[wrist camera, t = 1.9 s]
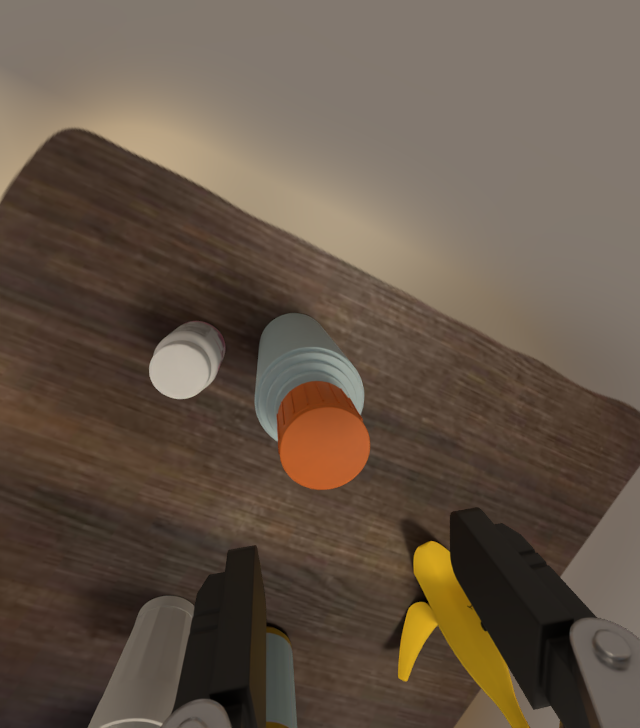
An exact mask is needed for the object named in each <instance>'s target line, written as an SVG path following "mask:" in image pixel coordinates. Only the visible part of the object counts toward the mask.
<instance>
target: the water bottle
mask: <svg viewBox="0 0 640 728" xmlns="http://www.w3.org/2000/svg"><path fill="white" fill-rule="evenodd" d="M311 381H323V382H329V383H331V384H333V385H335V386H337V387H339V388H341V389H342V390H343V391H344V393H345V394H346V395H347V396H348V398H349V397H350V399H351V401H352V402H353V404H354V406H355V407H356V409H357V411H358V412H359V414H360V415H361V412H362V408H363V403H364V389H363V384H362V380H361V378H360V376H359V373H358V372H357V370H356V369H355V367H354V366H353V365H352V363H351V362H350V361H349V360H348V358H347V357H346V356H345V355H344V353H343V352H342V351H341V350H340V349H339V347H338V346H337V345H336V344H335V342H334V341H333V340H332V339H331V337H330V336H329V335H328V334H327V332H326V331H325V330H324V329H323V327H322V326H321V325H320V324H319V323H318V322H317V321H316V320H315V319H313V318H311V317H310V316H307V315H305V314H300V313H288V314H284V315H281V316H279V317H277V318H275V319H274V320H272V321H271V322H270V323H269V324H268V325H267V326H266V328H265V329H264V331H263V333H262V335H261V338H260V342H259V354H258V365H257V377H256V389H255V409H256V414H257V417H258V419H259V421H260V423H261V425H262V427H263V428H264V430H265V431H266V432H267V433H268V434H269V435H270V436H271V437H272V438H273V439H275V440H276V441H277V442H278V434H277V414H278V410H279V407H280V404H281V401H282V400H283V399H284V397H285V396H286V395H287V394H288V393H289V391H291V390H292V389H294V388H295V387H297V386H299V385H301V384H303V383H306V382H311Z"/></svg>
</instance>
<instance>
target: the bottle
mask: <svg viewBox="0 0 640 728" xmlns="http://www.w3.org/2000/svg"><path fill="white" fill-rule="evenodd" d="M266 728H297V719H296V704H295V688H294V672H293V656H292V646H291V643H290V640H289V638H288V637H287V636H286V635H285V634H284V633H282V632H281V631H280V630H278V629H276V628H274V627H269V626H266Z"/></svg>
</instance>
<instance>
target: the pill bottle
mask: <svg viewBox="0 0 640 728" xmlns="http://www.w3.org/2000/svg"><path fill="white" fill-rule="evenodd" d="M224 355H225V342H224V339H223V337H222V335H221V333H220V332H219V331H218V330H217V329H216V328H215V327H214V326H212V325H211V324H208V323H206V322H202V321H191V322H187V323H184V324H182V325H181V326H179V327H178V328H177V329H175V330H174V331H173V332H172V333H170V334H169V335H168V336H166V337H165V338H164V339H163V340H162V341H161V342H160V343H159V344H158V346H157V347H156V349H155V351H154V355H153V358H152V359H151V362H150V366H149V374H150V378H151V381H152V383H153V385H154V386H155V387H156V389H157V390H158V391H160V392H161V393H162V394H164V395H166V396H168V397H171V398H175V399H186V398H190V397H193V396H195V395H196V394H198V393H199V392H201V391H202V390H203V389H204V388H206V387H207V386H208V385H210V383H211V382H212V381H213V380H214V378H215V377H216V374H217V372H218V370H219V367H220V365H221V362H222V360H223V358H224Z"/></svg>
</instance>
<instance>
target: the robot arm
mask: <svg viewBox="0 0 640 728" xmlns="http://www.w3.org/2000/svg"><path fill="white" fill-rule="evenodd" d="M450 560H451V565H452V568H453V572H454V574H455V577H456V579H457V581H458V583H459V584H460V586H461V588H462V589H463V591H464V593H465V594H466V596H467V598H468V600H469V601H470V603H471V605H472V606H473V608H474V610H475V611H476V613H477V615H478V616H479V618H480V620H481V622H482V623H483V625H484V627H485V628H486V630H487V632H488V633H489V635H490V637H491V638H492V640H493V642H494V644H495V645H496V647H497V649H498V650H499V652H500V654H501V655H502V657H503V659H504V660H505V662H506V664H507V666H508V667H509V669H510V671H511V672H512V674H513V676H514V677H515V679H516V681H517V682H518V684H519V686H520V688H521V689H522V691H523V693H524V694H525V696H526V698H527V699H528V701H529V703H530V705H531V706H532V708H533V709H539V708H543V707H548V706H551V707H552V708H553V710H554V711H555V713H556V714H557V716H558V718H559V719H560V727H559V728H640V639H639V638H638V637H637V636H636V635H634V634H633V633H632V632H630V631H629V630H627V629H626V628H624V627H622V626H620V625H618V624H616V623H613V622H611V621H608V620H605V619H601V618H597V617H596V616H595V615H594V614H593V613H592V612H591V611H590V610H589V608H588V607H587V606H586V605H585V604H584V603H583V602H582V601H581V600H580V599H579V598H578V596H577V595H576V594H575V593H574V592H573V591H572V590H571V589H570V588H569V587H568V586H567V585H566V583H565V582H564V581H563V580H562V579H561V578H560V577H559V576H558V575H557V574H556V573H555V571H554V570H553V569H552V568H551V567H550V566H547V564H546V562H545V561H544V559H543V558H542V557H541V556H540V555H539V554H538V553H535V550H534V549H533V547H532V546H531V545H530V544H529V543H528V542H527V541H526V540H525V539H524V538H523V537H522V536H521V535H520V534H519V533H517V532H516V531H514V530H512V529H511V528H509V527H507V526H506V525H504V524H503V523H500V524H495V525H494V524H493V523H492V521H491V520H490V519H489V518H488V517H487V516H486V514H485V513H484V512H483V511H482V510H481V509H480V508H477V507H476V508H471V509H465V510H459V511H453V512H452V513H451V515H450ZM193 614H194V616H193V617H192V622H191V627H190V634H189V636H188V641H187V646H186V651H185V656H184V660H183V665H182V670H181V675H180V680H179V684H178V689H177V694H176V699H175V703H174V707H173V710H172V712H171V715H170V716H169V717H168V718H167V719H166V720H165V721H164V723H163V724H162V726H161V727H160V728H266V601H265V592H264V585H263V580H262V574H261V568H260V562H259V556H258V550H257V546H256V545H254V546H248V547H243V548H237V549H231V550H229V551H228V554H227V561H226V569H225V572H223V573H217V574H212V575H209V576H208V578H207V579H206V581H205V582H204V584H203V585H202V587H201V588H200V590H199V592H198V593H197V598H196V603H195V607H194V612H193Z"/></svg>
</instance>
